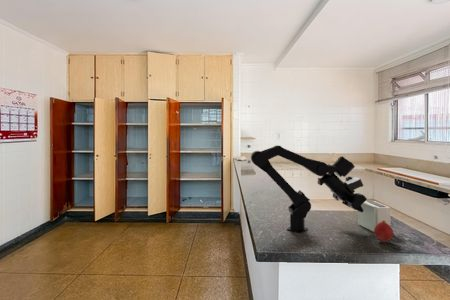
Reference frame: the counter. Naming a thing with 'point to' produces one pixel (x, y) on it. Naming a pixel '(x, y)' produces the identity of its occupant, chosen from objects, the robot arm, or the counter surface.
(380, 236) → the onion
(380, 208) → the box
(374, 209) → the door
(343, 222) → the counter surface
